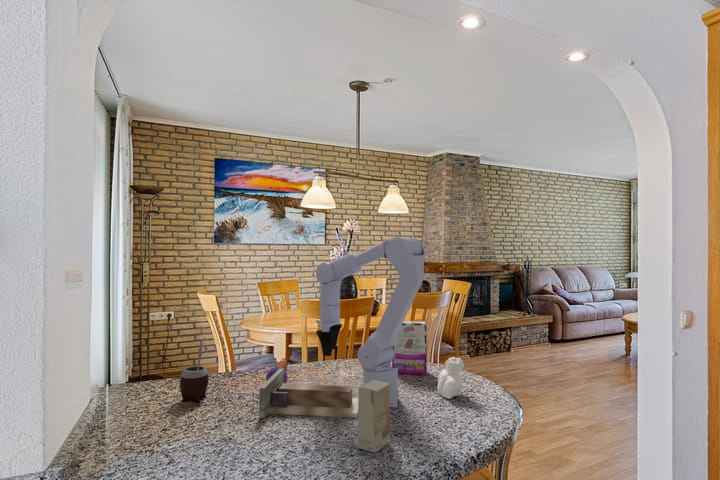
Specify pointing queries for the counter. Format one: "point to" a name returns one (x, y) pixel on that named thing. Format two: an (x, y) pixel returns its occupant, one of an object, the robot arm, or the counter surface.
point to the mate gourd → (194, 381)
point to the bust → (450, 378)
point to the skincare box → (373, 415)
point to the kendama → (279, 366)
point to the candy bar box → (411, 348)
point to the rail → (318, 395)
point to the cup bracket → (277, 404)
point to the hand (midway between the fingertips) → (329, 352)
